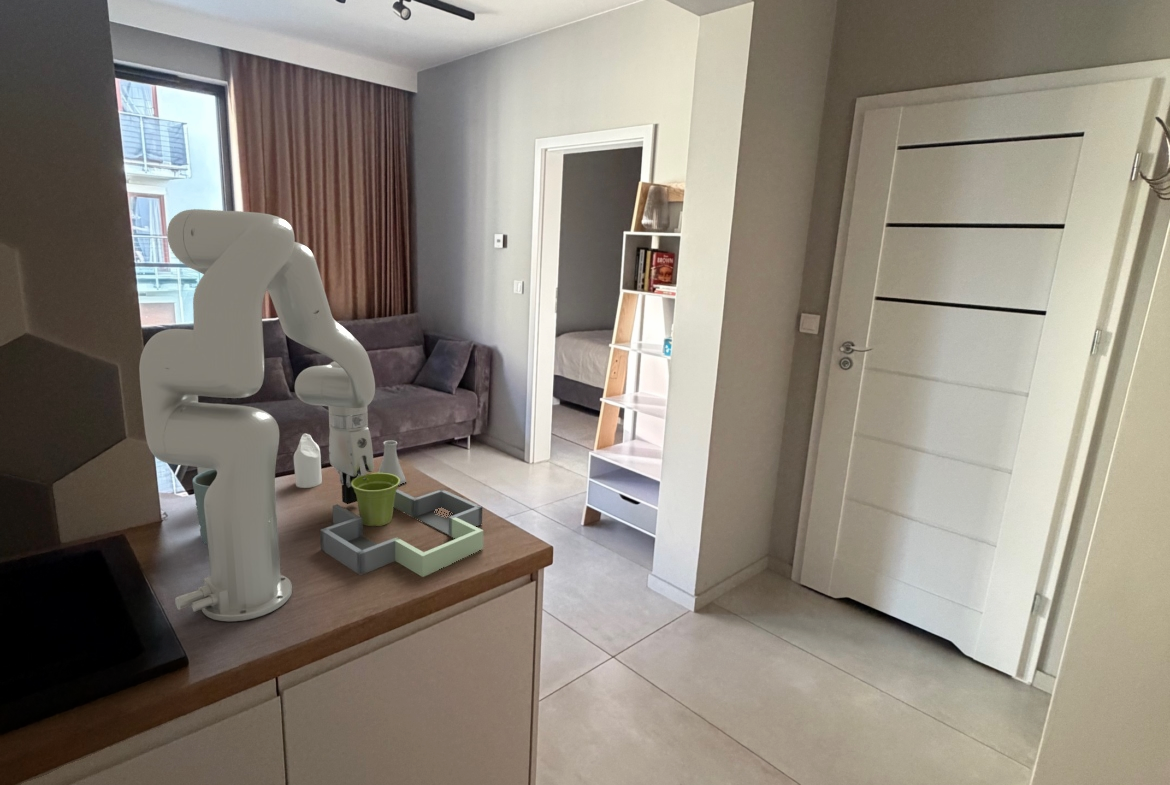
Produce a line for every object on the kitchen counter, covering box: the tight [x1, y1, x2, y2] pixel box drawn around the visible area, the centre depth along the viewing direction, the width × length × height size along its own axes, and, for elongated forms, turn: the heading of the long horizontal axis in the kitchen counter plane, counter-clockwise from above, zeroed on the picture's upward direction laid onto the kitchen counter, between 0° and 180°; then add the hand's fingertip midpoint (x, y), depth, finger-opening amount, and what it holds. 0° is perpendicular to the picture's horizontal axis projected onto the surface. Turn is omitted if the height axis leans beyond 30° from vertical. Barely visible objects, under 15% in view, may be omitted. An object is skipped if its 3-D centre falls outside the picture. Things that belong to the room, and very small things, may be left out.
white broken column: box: [293, 433, 323, 489], centre depth 142 cm, size 6×12×6 cm
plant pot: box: [351, 472, 400, 527], centre depth 126 cm, size 9×9×9 cm
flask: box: [377, 440, 407, 486], centre depth 146 cm, size 7×7×10 cm
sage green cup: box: [192, 469, 217, 546], centre depth 116 cm, size 10×10×12 cm
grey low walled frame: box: [319, 488, 484, 578], centre depth 120 cm, size 28×29×4 cm
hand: (351, 501), depth 132 cm, fingers closed
